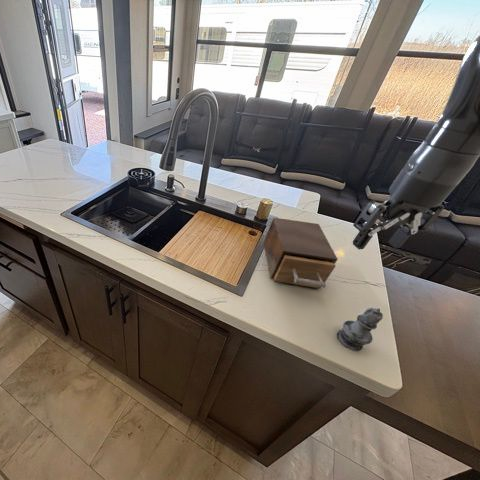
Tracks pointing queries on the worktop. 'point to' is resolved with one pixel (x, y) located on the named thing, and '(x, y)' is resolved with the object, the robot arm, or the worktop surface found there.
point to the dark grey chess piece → (359, 329)
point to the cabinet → (295, 242)
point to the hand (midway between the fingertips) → (375, 246)
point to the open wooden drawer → (304, 271)
